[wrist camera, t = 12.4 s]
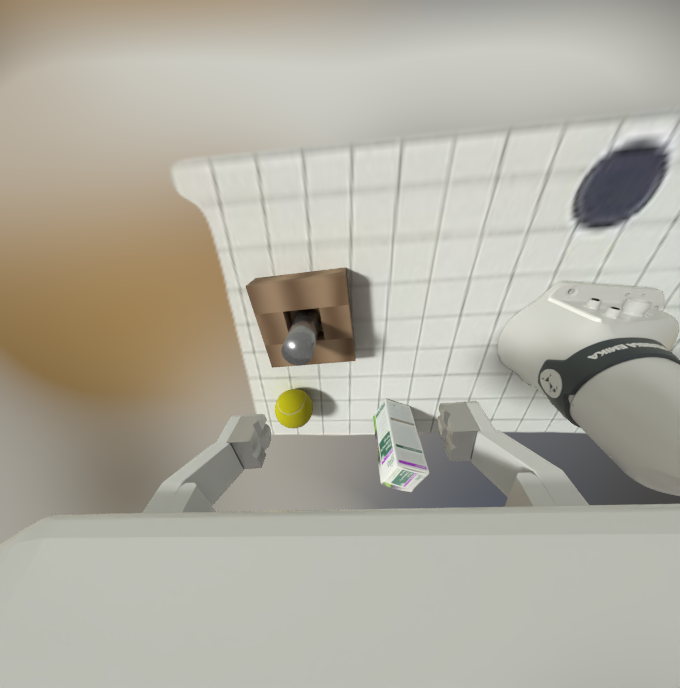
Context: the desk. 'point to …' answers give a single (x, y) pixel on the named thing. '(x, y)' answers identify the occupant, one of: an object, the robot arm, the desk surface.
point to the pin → (302, 337)
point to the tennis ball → (293, 408)
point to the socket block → (298, 294)
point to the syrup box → (398, 447)
